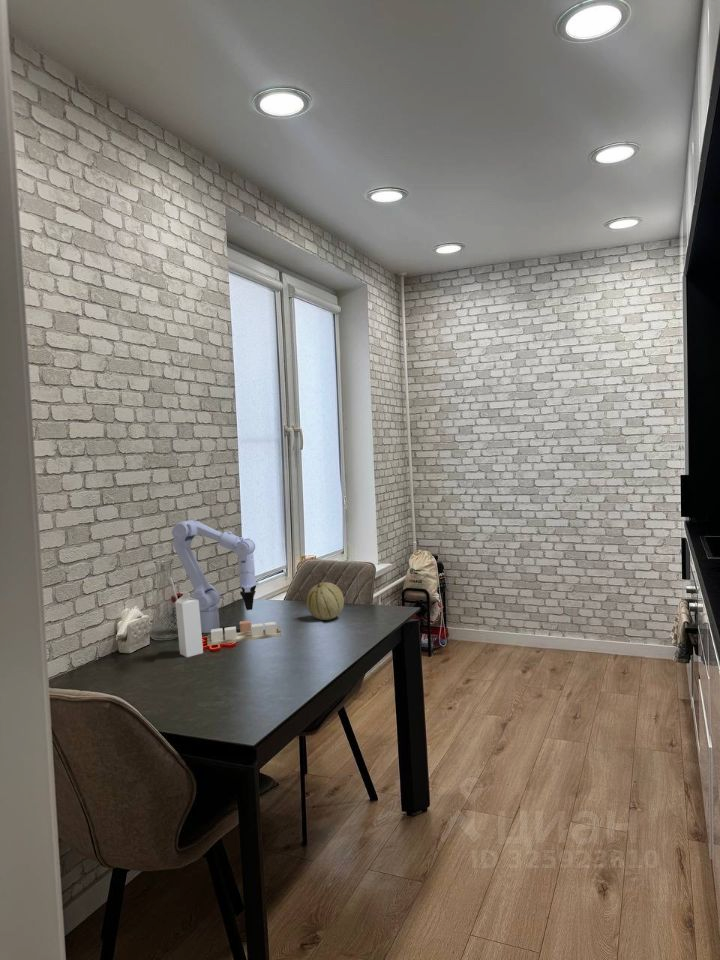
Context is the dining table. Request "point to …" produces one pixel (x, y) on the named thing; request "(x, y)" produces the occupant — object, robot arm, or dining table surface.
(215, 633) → the cream block
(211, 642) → the rack
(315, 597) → the cantaloupe
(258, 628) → the cream block
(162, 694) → the dining table surface
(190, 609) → the milk
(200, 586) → the robot arm
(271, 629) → the cream block
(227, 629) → the cream block
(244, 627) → the block terracotta
